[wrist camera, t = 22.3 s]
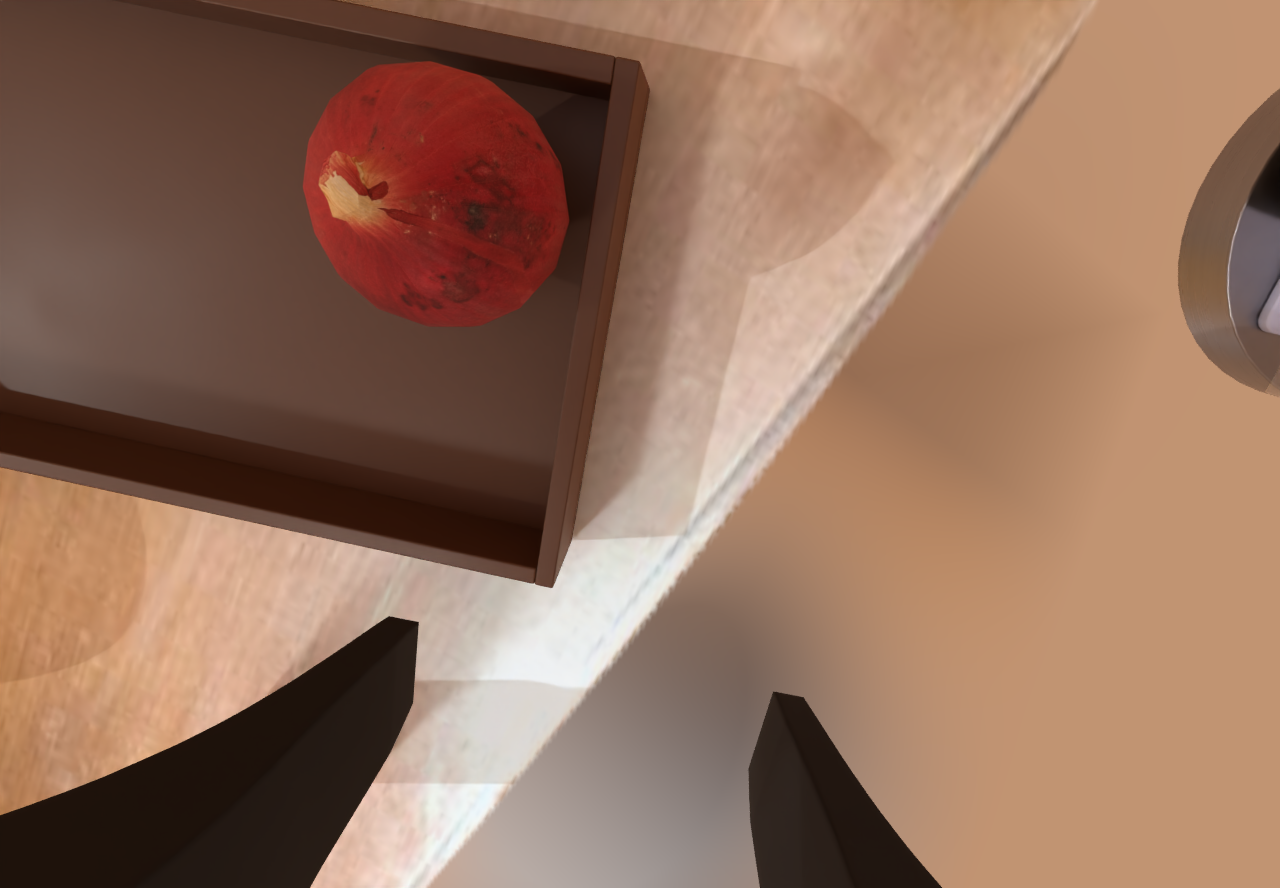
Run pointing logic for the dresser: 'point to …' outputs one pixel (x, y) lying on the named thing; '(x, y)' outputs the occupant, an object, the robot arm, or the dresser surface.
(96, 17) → the brown dish
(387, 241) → the pomegranate
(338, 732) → the robot arm
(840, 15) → the dresser surface
